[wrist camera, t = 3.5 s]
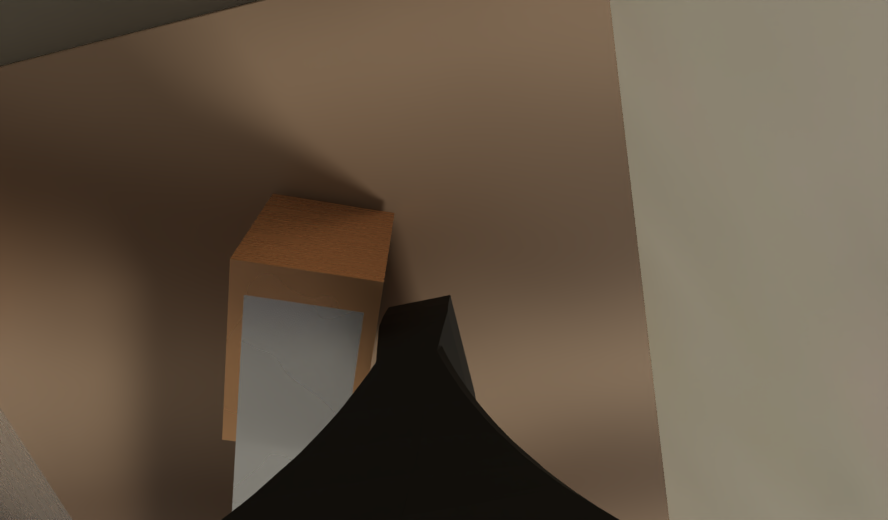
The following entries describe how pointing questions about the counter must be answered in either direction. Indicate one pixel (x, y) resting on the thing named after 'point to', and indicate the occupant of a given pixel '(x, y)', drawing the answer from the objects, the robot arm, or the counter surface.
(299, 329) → the tongs swing arm
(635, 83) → the counter surface
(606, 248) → the walnut board
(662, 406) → the counter surface
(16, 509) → the tongs fixed arm
